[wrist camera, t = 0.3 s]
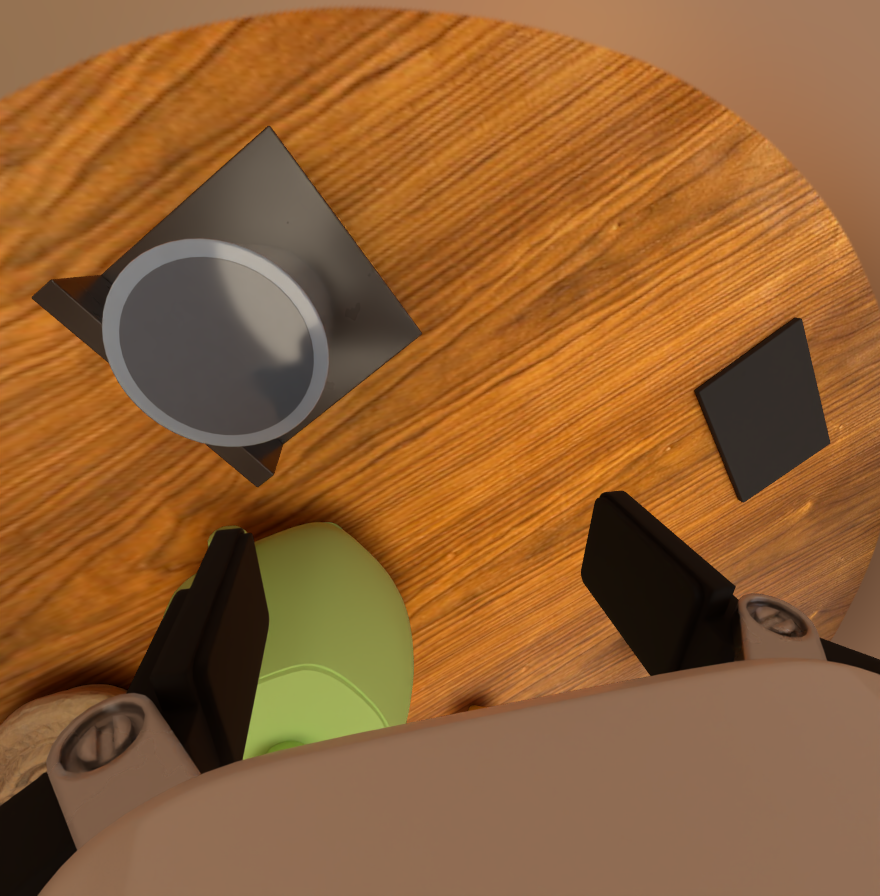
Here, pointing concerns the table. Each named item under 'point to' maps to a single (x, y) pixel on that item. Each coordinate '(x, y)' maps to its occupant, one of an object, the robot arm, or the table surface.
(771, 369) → the mat
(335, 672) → the teapot
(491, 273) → the table surface
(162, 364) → the blue cup
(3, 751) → the tan rounded lump
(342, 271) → the shelf
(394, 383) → the table surface
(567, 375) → the table surface
